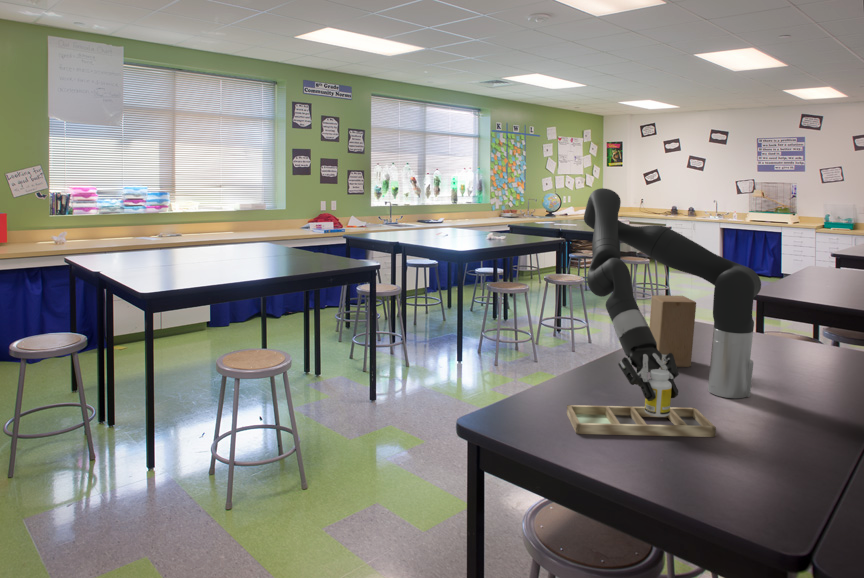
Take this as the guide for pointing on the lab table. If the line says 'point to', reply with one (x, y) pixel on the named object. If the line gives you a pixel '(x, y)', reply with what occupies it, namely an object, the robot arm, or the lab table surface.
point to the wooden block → (673, 326)
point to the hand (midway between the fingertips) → (663, 397)
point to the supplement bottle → (659, 394)
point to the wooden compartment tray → (637, 421)
